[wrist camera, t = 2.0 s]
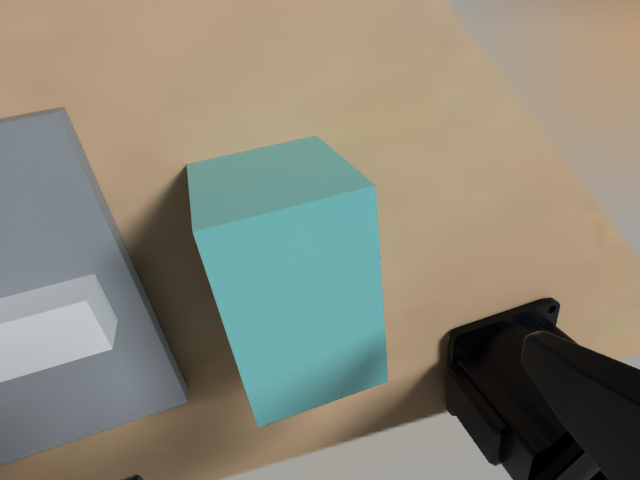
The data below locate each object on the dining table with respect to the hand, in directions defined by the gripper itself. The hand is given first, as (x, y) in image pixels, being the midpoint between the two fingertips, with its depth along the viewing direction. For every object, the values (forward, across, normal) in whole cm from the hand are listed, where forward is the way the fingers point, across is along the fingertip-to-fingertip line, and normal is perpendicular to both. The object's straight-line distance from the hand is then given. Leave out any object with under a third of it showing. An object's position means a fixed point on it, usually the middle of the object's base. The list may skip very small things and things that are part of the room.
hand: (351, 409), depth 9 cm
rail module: (+8, 0, 0) cm, 8 cm away
